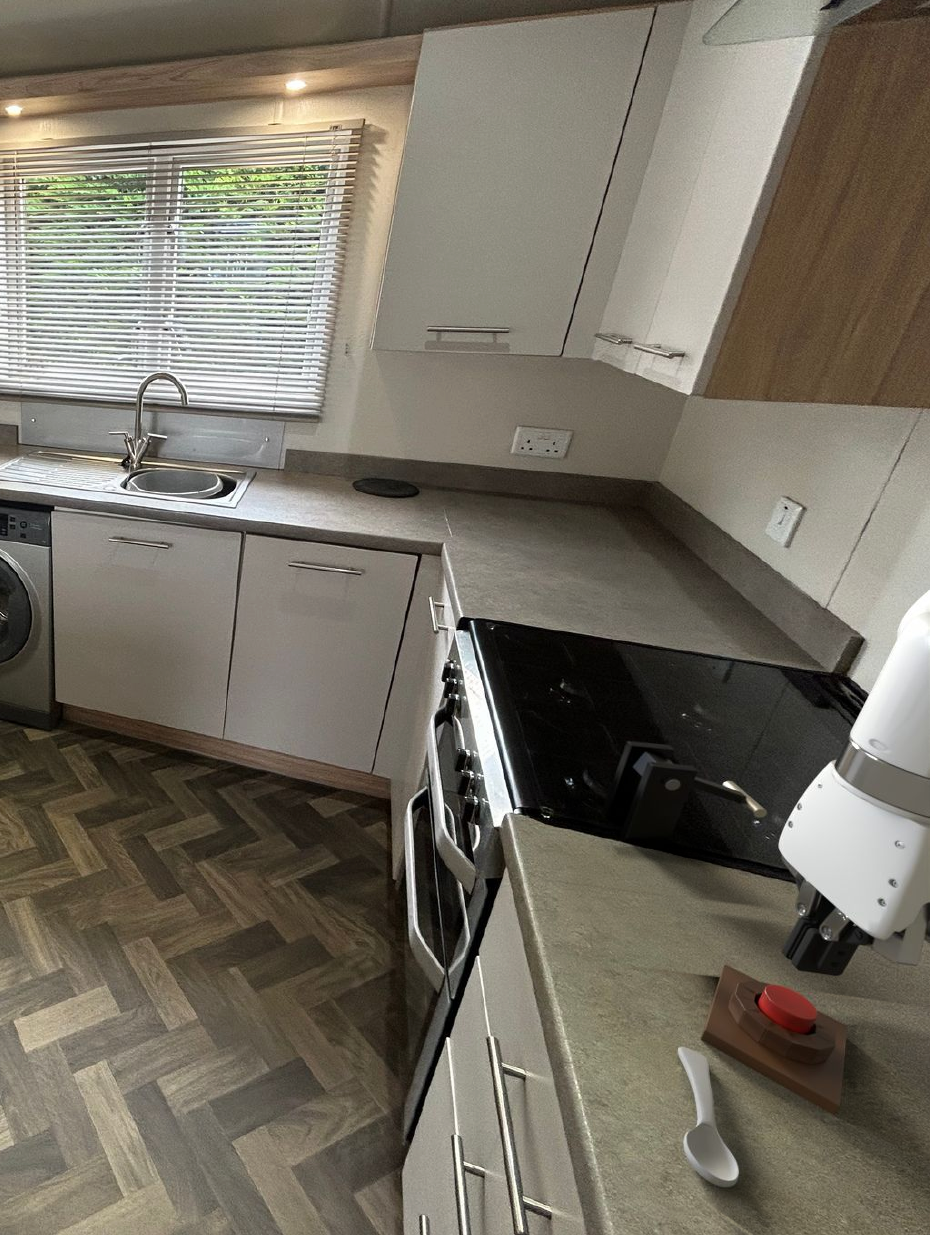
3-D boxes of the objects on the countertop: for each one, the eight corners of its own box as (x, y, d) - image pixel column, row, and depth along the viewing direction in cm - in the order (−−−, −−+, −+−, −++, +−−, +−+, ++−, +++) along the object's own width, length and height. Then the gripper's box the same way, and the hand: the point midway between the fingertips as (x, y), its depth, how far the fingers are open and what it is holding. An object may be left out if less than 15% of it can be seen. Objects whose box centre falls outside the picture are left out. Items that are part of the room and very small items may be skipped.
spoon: (682, 1177, 50) (692, 1157, 50) (664, 1052, 60) (672, 1034, 59) (738, 1206, 49) (748, 1186, 48) (710, 1073, 58) (719, 1055, 57)
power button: (759, 991, 61) (767, 977, 61) (811, 1018, 59) (819, 1003, 58) (754, 1014, 59) (762, 999, 59) (807, 1042, 57) (816, 1027, 56)
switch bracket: (657, 819, 86) (690, 738, 82) (707, 873, 78) (746, 786, 73) (559, 808, 88) (586, 728, 83) (598, 859, 79) (630, 774, 75)
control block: (719, 972, 66) (731, 949, 65) (841, 1035, 60) (856, 1010, 59) (700, 1039, 60) (712, 1015, 59) (833, 1116, 54) (850, 1090, 53)
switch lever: (726, 794, 81) (740, 778, 80) (758, 823, 77) (773, 807, 76) (625, 759, 82) (637, 743, 81) (650, 786, 77) (664, 769, 76)
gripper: (1101, 861, 43) (956, 1064, 50) (880, 728, 57) (789, 901, 63) (956, 844, 44) (834, 1045, 51) (774, 718, 58) (696, 888, 64)
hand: (809, 964), depth 57 cm, fingers closed
